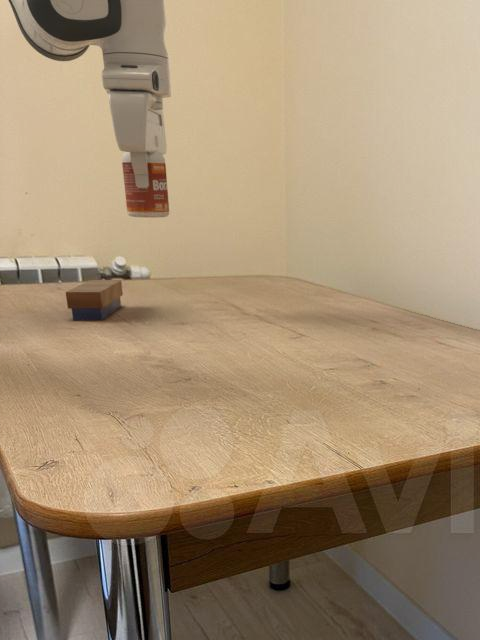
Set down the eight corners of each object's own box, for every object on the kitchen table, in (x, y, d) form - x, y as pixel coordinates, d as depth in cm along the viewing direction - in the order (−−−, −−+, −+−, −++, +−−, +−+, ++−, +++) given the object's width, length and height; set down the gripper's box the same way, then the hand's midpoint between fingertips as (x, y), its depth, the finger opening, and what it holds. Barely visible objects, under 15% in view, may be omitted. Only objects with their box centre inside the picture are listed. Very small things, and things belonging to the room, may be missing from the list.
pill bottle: (162, 218, 104) (154, 134, 99) (121, 217, 104) (112, 134, 100) (175, 215, 110) (168, 136, 105) (136, 214, 110) (128, 135, 105)
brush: (103, 321, 105) (100, 292, 104) (69, 320, 105) (65, 292, 103) (124, 306, 117) (121, 280, 116) (93, 306, 117) (89, 279, 115)
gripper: (130, 88, 109) (139, 185, 114) (98, 71, 90) (111, 188, 96) (171, 90, 110) (179, 186, 115) (148, 73, 91) (158, 189, 96)
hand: (147, 187), depth 105 cm, fingers closed on pill bottle, 6 cm apart
